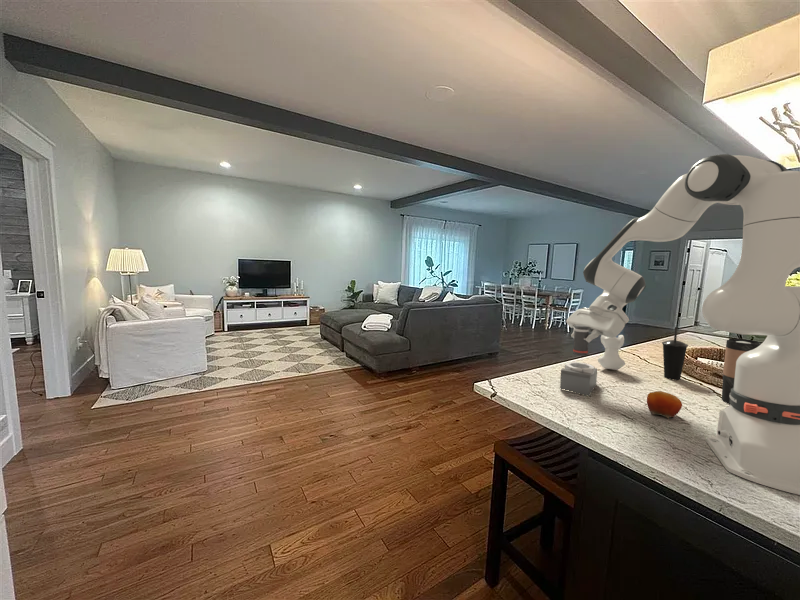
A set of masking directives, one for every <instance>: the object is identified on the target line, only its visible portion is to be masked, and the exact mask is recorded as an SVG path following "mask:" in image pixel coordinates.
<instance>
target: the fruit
mask: <svg viewBox="0 0 800 600" xmlns="http://www.w3.org/2000/svg"><path fill="white" fill-rule="evenodd" d="M646 406H647V407H648V411H649V412H650V413H651V414H652V416H655V415H658V416H659V415H660V416H663V417H665V418H667V419H668V420H670V418H674V417H675V416H677V415H678V413H680V411H681V410H682V408H683V404H682V401H681V399H680V398H679V397H677V396H676V395H674V394H671V393H669V392H665V391H662V390H657V391H652V392H649V393H648V394H647V396H646Z"/></svg>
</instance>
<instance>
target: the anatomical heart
mask: <svg viewBox="0 0 800 600" xmlns="http://www.w3.org/2000/svg"><path fill="white" fill-rule="evenodd" d="M600 343H601V345H603V347H604V352H603V354H602V355H600V356H599V357H598V358H597V362H598V363H599V365H600V366H601V367H602V368H603V369H608V370H614V371H615V370H616V371H618V370H621V368H622V367H623V368H624V366H625V365H626V362H625V360H623V358H622V357H620V354H619V350H620V349H621V348H622V347H623V345H624V344H625V336H624V335H623V334H618V335H617V336H616V337H613V338H611V337H607V336H603V335H600Z"/></svg>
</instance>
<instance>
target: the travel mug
mask: <svg viewBox="0 0 800 600" xmlns="http://www.w3.org/2000/svg"><path fill="white" fill-rule="evenodd" d="M761 344H762V342H761V341H757V340H752V339H745V338H728V339H726V344H725V353H724V361H723V371H722V386H721V400H723V401H722V402H724V403H726V402H727V403H726V404H728V403H729V401H730V397H729V395H730V393H731V389H732V388H734V379H735V369H736V361H737V359H738V358H739V356H740V355H742V354H743V353H745V352H747V351H750V350H753V349H755V348H757V347H758V346H760V345H761Z"/></svg>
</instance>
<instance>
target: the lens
mask: <svg viewBox="0 0 800 600" xmlns="http://www.w3.org/2000/svg"><path fill="white" fill-rule="evenodd" d="M573 330H574V338H573V348H572V352H573V354H574V355H575V356H581V357H582V356H588V354H589V353H588V352H589V342H585V340H584V337H585V336H586V335H587V336H588V335H590V334H589V333H590V332H589V327H587V326H583V325H575V327H574V328H573Z"/></svg>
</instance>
